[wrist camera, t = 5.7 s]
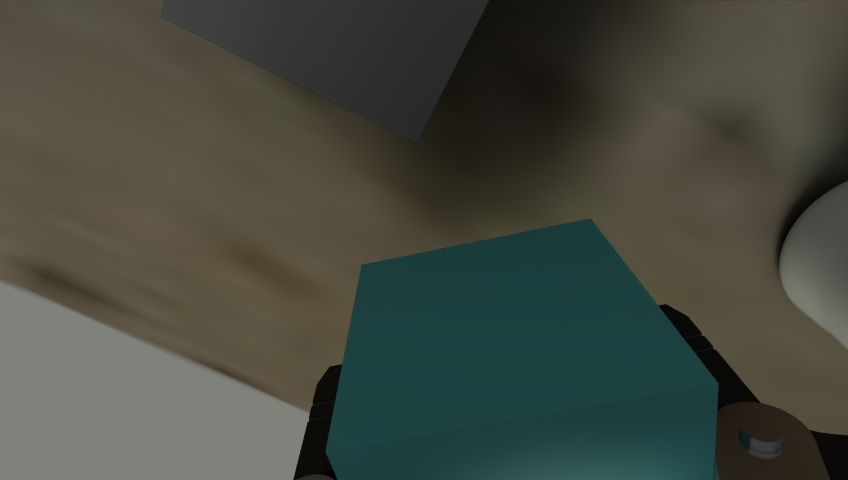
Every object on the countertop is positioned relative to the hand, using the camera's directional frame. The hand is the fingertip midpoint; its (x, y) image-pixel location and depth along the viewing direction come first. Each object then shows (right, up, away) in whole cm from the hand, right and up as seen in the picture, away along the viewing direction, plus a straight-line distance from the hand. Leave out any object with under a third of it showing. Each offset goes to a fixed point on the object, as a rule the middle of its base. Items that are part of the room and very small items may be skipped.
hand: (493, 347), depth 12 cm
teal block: (0, 0, 0) cm, 0 cm away
